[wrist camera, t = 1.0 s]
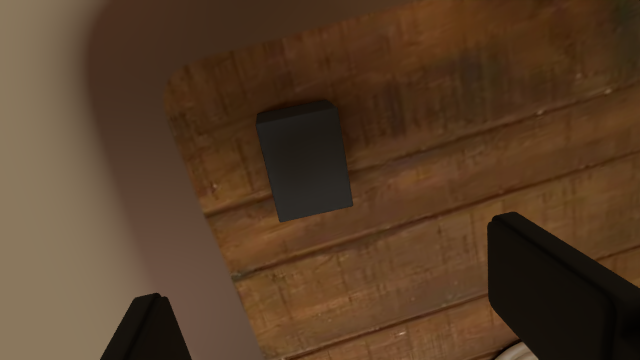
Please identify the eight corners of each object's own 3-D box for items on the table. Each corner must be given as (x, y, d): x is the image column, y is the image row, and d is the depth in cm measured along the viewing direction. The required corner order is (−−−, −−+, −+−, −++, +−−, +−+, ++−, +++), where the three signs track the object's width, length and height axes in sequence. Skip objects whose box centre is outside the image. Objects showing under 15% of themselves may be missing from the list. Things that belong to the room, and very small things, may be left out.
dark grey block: (256, 113, 22) (255, 124, 19) (327, 99, 23) (337, 107, 19) (278, 200, 24) (279, 223, 21) (342, 186, 25) (353, 206, 21)
